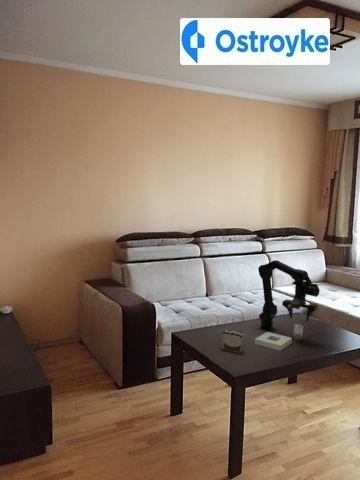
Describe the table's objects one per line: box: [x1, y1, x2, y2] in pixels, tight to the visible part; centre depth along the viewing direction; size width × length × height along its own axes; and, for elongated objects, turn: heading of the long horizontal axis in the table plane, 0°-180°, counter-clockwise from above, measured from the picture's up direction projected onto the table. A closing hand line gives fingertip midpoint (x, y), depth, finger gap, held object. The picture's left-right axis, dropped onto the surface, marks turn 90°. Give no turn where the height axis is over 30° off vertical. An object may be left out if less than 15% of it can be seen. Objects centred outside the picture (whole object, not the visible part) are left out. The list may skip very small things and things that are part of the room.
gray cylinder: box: [292, 323, 304, 342], centre depth 225 cm, size 5×5×8 cm
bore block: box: [254, 331, 293, 352], centre depth 218 cm, size 15×15×3 cm
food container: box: [221, 328, 245, 354], centre depth 209 cm, size 12×6×10 cm, turn 59°
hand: (299, 320), depth 224 cm, fingers open, 9 cm apart
